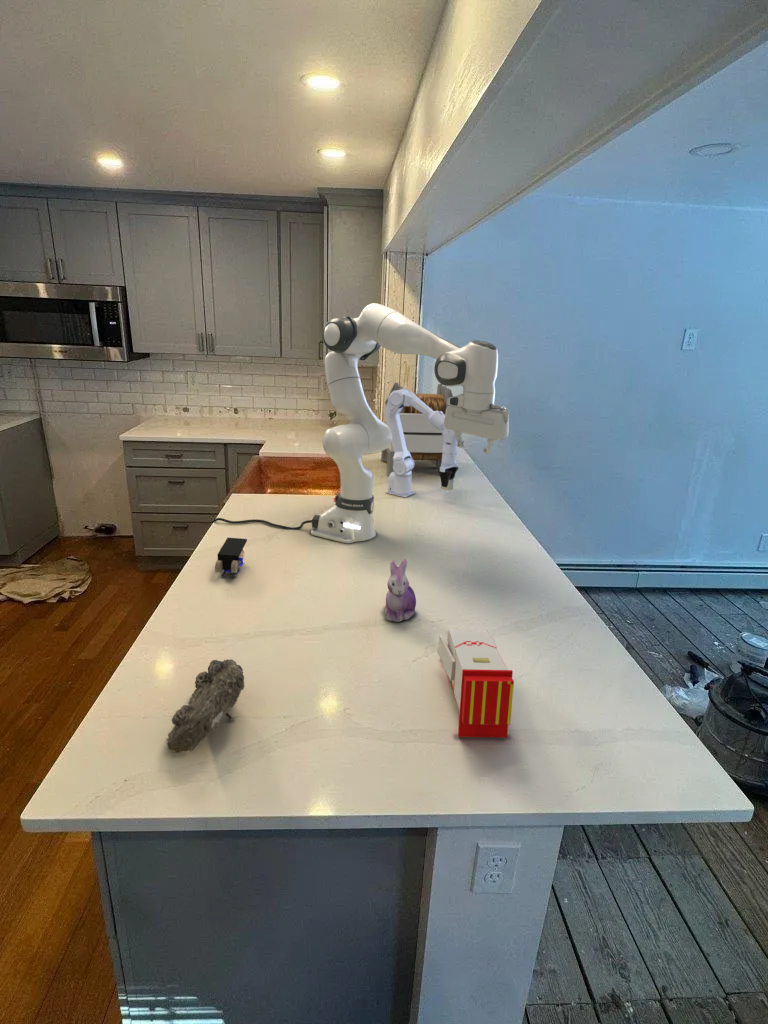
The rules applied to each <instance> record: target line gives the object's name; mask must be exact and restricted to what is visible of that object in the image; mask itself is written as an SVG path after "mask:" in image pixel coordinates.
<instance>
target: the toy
mask: <svg viewBox="0 0 768 1024" xmlns="http://www.w3.org/2000/svg"><path fill="white" fill-rule="evenodd" d="M446 640H447V643H446V641H445V639H444V636H443V635H442V634H439V637H438V646H437V656H438V657H439V659H440V661H441V663H442V666H443V668H444V670H445V672H446V674H447V677H448V679H449V681H450V684H451V687H452V690H453V693H454V697H455V701H456V705H457V708H458V711H459V714H458V715H459V716H458V730H457V731H458V732H457V737H458V738H508V731H509V726H510V725H511V717H512V707H513V697H514V696H513V695H514V684H515V680H514V679H513V673H514V671H513V670H512V669H508V667H507V665H506V662H505V661H504V659H503V658H502V655H501V653H500V651H499V649H498V647H497V643H496V639H495V637H494V635H493V634H491V632H490V631H489V629H467V628H466V629H465V628H463V629H461V628H460V629H459V628H448V630H447V639H446Z"/></svg>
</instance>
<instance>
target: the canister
mask: <svg viewBox="0 0 768 1024" xmlns="http://www.w3.org/2000/svg"><path fill="white" fill-rule="evenodd" d="M454 478H455V477H454ZM454 478H453V477H450V478H449V482H448V486H447V487H442V484H441V483H440V489H441V490H444V491H452V490H453V489H454V483H455V479H454Z"/></svg>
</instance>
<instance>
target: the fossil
mask: <svg viewBox="0 0 768 1024" xmlns="http://www.w3.org/2000/svg"><path fill="white" fill-rule="evenodd" d="M243 670H244V669H243V667H242V665H240V664H237V662H236V661H235V660H234V659H232V658H231V659H227V658H226V659H224V660H223V661H222V660H217V659H212V660H211V661H210V663H209V665H208V666H207V671H201V672H199V673H198V674H197V675H196V676H195V680H194V684H195V685H194V687H195V689H194V690H193V693H192V694H191V697H190V698H189V700H188V704H184V705H182V706H181V707H180V709H177V710H176V711H175V713H174V715H173V716H172V718H171V723H172V724H173V727H172V730H171V731H170V732H168V734H167V738H166V741H167V742H166V745H167V749H168V750H169V751H173V752H174V753H176V754H178V753H182V752H188V751H189V752H192V751H193V750H195V748H196V747H197V746H199V744H200V743H201V742H203V741H204V740H205V739H206V738H207V737H208V736H209V735H210V734H211V733H212V732H214V730H215V729H217V727H218V726H219V724H220V722H221V721H222V720H223V719H224V718H225V716H226V717H227V719H229V720H233V717H232V715H230V714H229V710H230V709H231V708H234V706H235V704H236V703H237V702H238V699H239V697H240V695H241V693H242V691H243V690H245V689H244V688H245V675H244V671H243Z"/></svg>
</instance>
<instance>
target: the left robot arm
mask: <svg viewBox="0 0 768 1024" xmlns="http://www.w3.org/2000/svg"><path fill="white" fill-rule="evenodd" d="M322 341H323V344H324V346H325V348H327V349H328V350H329V351H328V352H327V354H326V355H325V356H324V373H325V381H326V384H327V388H328V394H329V397H330V401H331V405H332V408H333V410H334V411H335V412H336V413H338V414H339V415H341V416H343V417H344V418H345V419H346V420H347V421H348V423H345V424H339V425H336V426H333V427H330V428H327V429H326V430H325V432H324V433H323V436H322V439H321V440H322V441H321V442H322V448H323V450H324V452H325V454H326V455H327V456H328V457H329V458H330V459H332V460H333V461H334V463H335V464H336V466H337V468H338V469H337V470H338V472H339V482H340V484H339V485H340V488H339V489H340V490H339V491H338V492H337V494H336V495H335V496H334V497H333V502H334V504H333V505H331V506H329V507H328V508H326V509H325V510H323V512H321V514H314V515H313V517H312V519H307V520H304V521H302V522H301V523H300V525H299V526H296V527H294V526H293V527H290V526H286V525H282V524H277V523H273V522H271V521H268V520H265V519H256V518H255V519H245V520H229V519H226V518H223V517H217V518H213V520H212V521H211V523H215V522H217V521H221V522H225V523H228V524H232V525H233V524H234V525H236V524H246V523H247V524H248V523H262V524H266V525H269V526H271V527H274V528H275V527H276V528H279V529H284V530H301V529H302V528H303V527H304V525H306V524H310V523H311V530H310V533H311V536H315V537H319V538H323V539H326V540H330V541H336V542H339V543H343V544H352V543H357V542H365V541H368V540H372V539H373V538H375V537H376V535H377V532H376V528H375V523H374V513H373V512H374V509H375V496H374V474H373V472H372V471H371V469H369V468H368V467H366V466H364V464H363V457H364V456H370V455H375V454H379V453H382V451H383V450H386V449H387V448H389V446H390V444H391V441H392V433H391V430H390V428H389V427H388V425H387V424H385V423H384V421H382V420H381V419H380V418H379V417H377V415H376V414H375V412H374V411H373V410H372V408H371V406H370V405H369V403H368V401H367V398H366V395H365V392H364V387H363V384H362V381H361V375H360V372H359V369H358V363H359V360H360V361H365V360H367V359H368V358H369V357H370V356H372V355H374V354H375V353H376V352H377V351H379V349H380V348H381V347H382V348H383V349H386V350H387V351H390V352H393V353H395V354H398V355H420V356H425V357H426V356H427V357H430V358H432V359H435V362H434V368H433V371H434V375H435V376H434V377H435V379H436V381H437V382H438V384H442V386H446V387H451V388H452V387H459V386H460V387H461V386H462V393H461V394H458V395H453V397H449V398H448V399H447V404H448V405H449V406H448V407H447V408H446V412H445V418H444V426H445V428H446V429H448V430H453V431H454V436H455V438H456V441H457V445H456V446H457V448H464V447H465V440H463V438H462V435H463V434H466V435H470V436H471V435H472V436H475V437H480V438H483V439H484V438H485V439H487V443H488V444H487V445H486V446H483V447H482V450H483V451H482V453H483V454H486V455H490V454H491V453H492V448H493V446H494V445H496V441H498V442H500V441H505V440H507V439H508V438H509V429H510V426H509V425H510V424H509V420H510V410H509V409H508V408H506V406H504V405H499V404H495V398H496V397H495V396H496V387H495V386H496V385H495V383H496V380H497V377H498V367H499V352H498V348H497V346H496V345H494V344H493V343H491V342H488V341H484V340H477V339H476V340H471V341H469V342H467V344H465V345H463V346H462V347H461V346H459V345H457V344H455V343H452V342H451V341H449V340H447V339H445V338H443V337H441V336H439V335H437V334H435V333H433V332H432V331H429V330H428V329H427V328H425V327H424V326H421V325H419V324H418V323H416V322H415V321H413V320H412V319H410V318H409V317H407V316H405V315H404V314H403V313H400V312H399V311H398V310H395V309H393V308H391V307H389V306H386V305H384V304H380V303H376V302H372V303H369V304H367V305H366V306H364V308H363V309H362V310H361V311H360V314H359V316H358V317H352V315H347V316H340V317H333V318H331V319H329V320H328V321H326V323H325V324H324V326H323V329H322Z"/></svg>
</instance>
